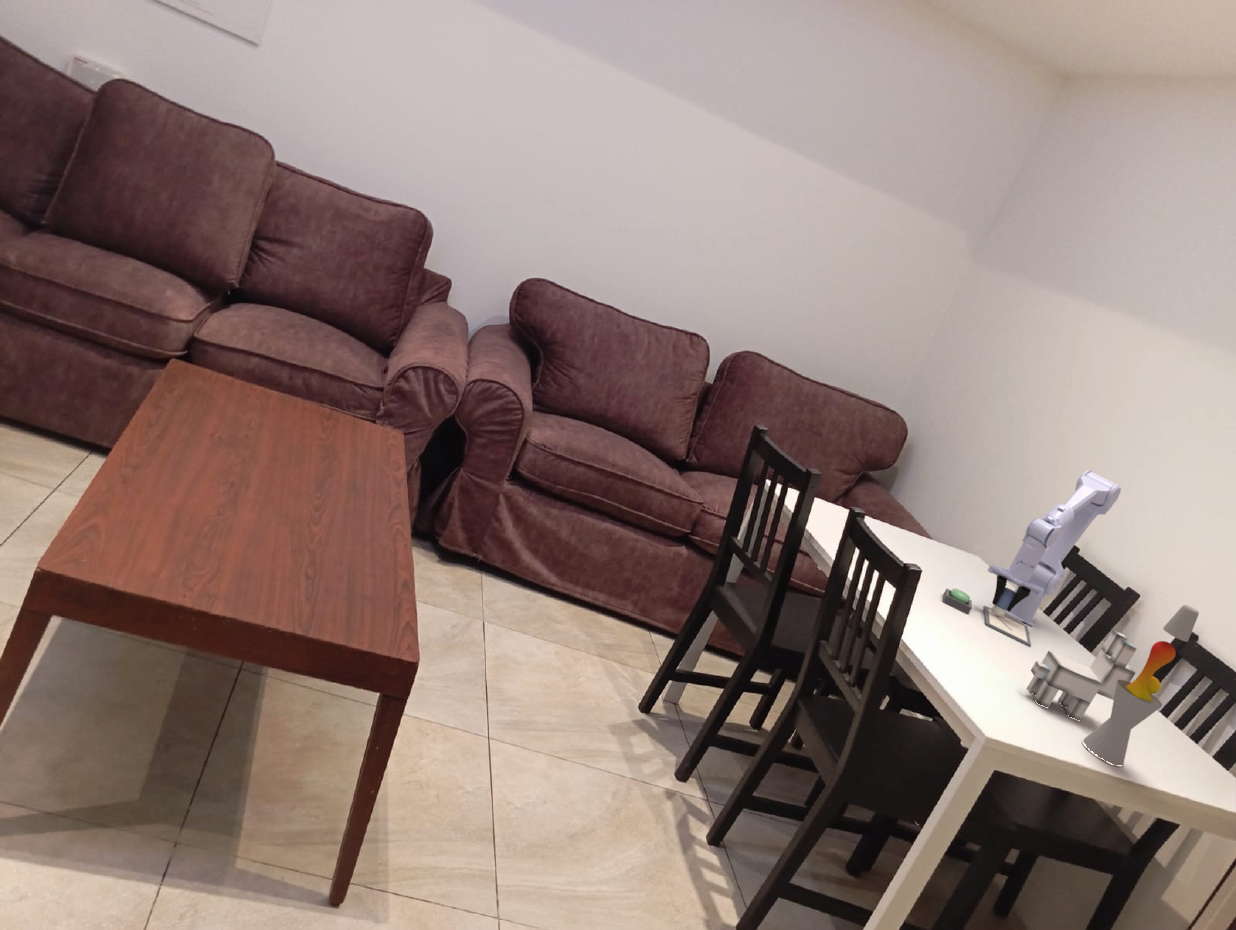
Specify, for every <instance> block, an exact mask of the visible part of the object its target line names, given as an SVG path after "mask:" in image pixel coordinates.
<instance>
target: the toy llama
mask: <svg viewBox="0 0 1236 930" xmlns="http://www.w3.org/2000/svg"><path fill="white" fill-rule="evenodd" d="M1137 650H1138V649H1137V647H1136V646H1135V644H1133V643H1131V642H1128V638H1127V637H1126V635H1125V634H1123V633H1122V632H1119V631H1116V630H1115V629H1112V630H1111V632H1110V633H1109V635H1108V636H1107V638H1106V640H1105V642H1104V644H1103V645H1102V647H1101V648H1100V650H1099V652H1098V654H1097V655H1096V657H1095V659H1094V660H1093V662H1092V664H1091V666H1086V665H1084V664H1082V663H1079V662H1076V661H1074V660H1072V659H1069V658H1067V657H1064V656H1062V655H1060V654H1058V653H1055V652H1052V651H1050V650H1048V651H1047V652H1046V654H1045V656H1044V658H1043V660H1042V661H1041V662H1040V661H1038V660H1037V661H1035V662H1034V664H1033V666H1032V667H1031V670H1030V672H1031V674H1033V677H1032V678H1031V680H1030V682H1029V684H1028V685H1027V687H1026V690H1027V691H1028V690H1029V691H1028V693H1029V692H1030V693H1033V694H1034V695H1033V696H1034V698H1033V700H1034V699H1035V700H1036V702H1037V703H1038V704H1040V705H1043V706H1045V707H1049V708H1050V706H1051V704H1052V703H1053V701H1054V699H1055V698H1056V696H1057V694H1058V692H1059V691H1062V692H1061V694H1060V696H1059V697H1058V699H1057V701H1058V700H1059V702H1060V703H1061V705H1062V706H1063V707H1062V706H1061V705H1060V706H1061V707H1062V708H1064V707H1067V709H1066V708H1065V709H1066V710H1065V711H1066V713H1067V714H1068V715H1069V717H1072V718H1075V719H1077V720H1080V721H1081V719H1082V718H1083V716H1084V715H1085V713H1086V711H1087V710H1088V708H1089V707H1090V705H1091V703H1092V702H1093V700H1094V698H1095V697H1096V695H1097V694H1098V695H1099V696H1102V697H1105V698H1107V699H1110V700H1113V701H1114V695H1115V690H1116V684H1117V680H1125V681H1128V682H1130V683H1131V681H1133V678H1134V676H1135V675H1136V672H1135V670H1133V668H1132V667H1131V666H1130V665H1129V662H1130V661H1131V660H1132V658H1133V656H1134V654H1135V653H1136V651H1137ZM1030 693H1029V694H1030ZM1035 695H1036V696H1035ZM1035 700H1034V701H1035ZM1036 702H1035V703H1036ZM1059 702H1058V703H1059ZM1037 703H1036V704H1037ZM1040 705H1039V706H1040ZM1066 713H1065V714H1066ZM1067 714H1066V715H1067ZM1069 717H1068V718H1069Z"/></svg>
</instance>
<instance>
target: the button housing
mask: <svg viewBox="0 0 1236 930" xmlns="http://www.w3.org/2000/svg"><path fill="white" fill-rule="evenodd" d="M951 591H952V590H951V589H949V588H948V587H947V588H946V589H945V591H944V593H943V594H942V603H944V604H946V605H948V606H950V607H952V608H954V609H957V610H959V612H962V613H964V614H966V615H969V614H970V612H971V610H972V607H973V606H972V605H973V603H972V599H971V598H970V599H969V601H968V603H967V605H966V604H964V603H962V602H960V601H958V600H956V599H954V598H952V597H950V596H949V595H950V593H951Z"/></svg>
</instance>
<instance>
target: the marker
mask: <svg viewBox="0 0 1236 930" xmlns="http://www.w3.org/2000/svg"><path fill="white" fill-rule="evenodd" d="M1014 591H1015V590H1013V589H1011V588H1009V587H1006V586H1005V588H1004V589H1003V591H1002V593H1001V594H1000V596H999V598H998V601H997V603H996V604H995V605H994V604H993V606H992V607H991V609H992V610H991V611H992V612H993V613H995V614H997V615H999V616H1002V617H1003V616H1004V615H1005V613H1006V611H1007V609H1008V607H1009V606H1010V604H1011V602H1012V600H1013V598H1014V597H1015V595H1016V593H1015V592H1014Z"/></svg>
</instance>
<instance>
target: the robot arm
mask: <svg viewBox="0 0 1236 930" xmlns="http://www.w3.org/2000/svg"><path fill="white" fill-rule="evenodd" d="M1074 489H1075V490H1074V492H1073V493H1072V494H1071V495H1070V496H1069V497H1068V499H1067V500H1066V501H1065V502H1064V503H1057V504H1055V505H1054V506H1053V507H1052V508H1051V509H1050V510H1049V511H1047V512H1046V513H1045V514H1044V515H1043V516H1041V518H1035V517H1034V518H1033V519H1032V520H1031V521H1030V523H1029V524H1028V525H1027V527H1026V529H1025V534H1024V536H1023V539H1022V544H1021V546H1020V548H1019V549H1018V551H1017V553H1016V555H1015V557H1014V558H1013V560H1012V563H1011V564H1010V565H1009V568H1008V570H1007V569H1005V568H1003V567H1001V566H997V565H995V564H993V563H990V565H989V566H988V568H987V572H988V573H990V574H993V575H995V576H996V587H995V592H994V596H993V598H992V601H991V603H992V605H993V606H994V605H995V604H996V603H997V601H998V598H999V596H1000V594H1001V593H1002V591H1003V589H1004V588H1005V587H1006V586H1007V583H1008V582H1010V583H1012V584H1014V585H1016V588H1015V589H1014V590H1013V591H1014V592H1015V593H1016V595H1015V597H1014V598H1013V600H1012V602H1011V604H1010V606H1009V607H1008V609H1007V611H1006V612H1007V613H1009V614H1011V615H1013V616H1015V617H1017V618H1020V619H1022V623H1026V624H1027V625H1029V626H1031V627H1032V626H1034V622H1033V618H1034V617H1035V615H1036V612H1037V611H1038V610H1039V607H1040V606H1041V604H1042V602H1043V600H1044V599H1045V597H1046V596H1050V595H1053V594H1054V593H1055V592H1056V591H1057V590H1058V588H1059V587H1060V585H1061V582H1062V581H1063V579H1064V578H1065V569H1064V568H1063V565H1062V562H1063V561H1064V559H1065V558H1066V557H1067V555H1068V554H1069V553H1070V551H1071V550H1072V549H1073V548H1074V546H1076V544H1077V542H1078V541H1079V540H1080V538H1081V537H1082V536H1083V534H1084V533H1085V532H1086V530H1087V529H1088V528H1089V527H1090V525H1091V524H1092V523H1093V521H1094V520H1095V519H1096V517H1098V515H1106V514H1107V513H1108V512H1109V511H1110V509H1111V508H1112V507H1113V505H1115V503H1116V502H1117V500H1118V499H1119V496H1120V494H1121V491H1122V488H1121V485H1120V484H1119V483H1118V484H1117V483H1115V482H1113V481H1111V480H1109V479H1106V477H1105V478H1104V477H1103V476H1101V475H1099V474H1097V473H1095V472H1093V471H1091V470H1085V471H1083V472H1082V474H1081V475H1080V476H1079V477H1078V479H1077V481H1076V483H1075V488H1074Z"/></svg>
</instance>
